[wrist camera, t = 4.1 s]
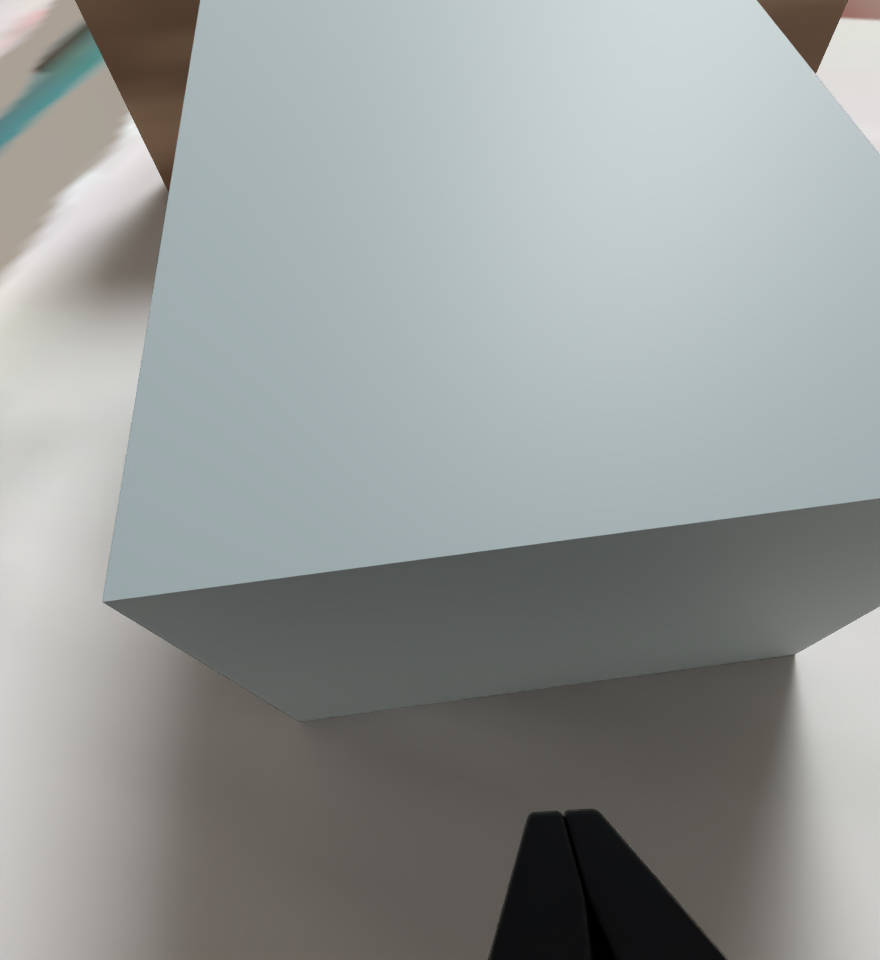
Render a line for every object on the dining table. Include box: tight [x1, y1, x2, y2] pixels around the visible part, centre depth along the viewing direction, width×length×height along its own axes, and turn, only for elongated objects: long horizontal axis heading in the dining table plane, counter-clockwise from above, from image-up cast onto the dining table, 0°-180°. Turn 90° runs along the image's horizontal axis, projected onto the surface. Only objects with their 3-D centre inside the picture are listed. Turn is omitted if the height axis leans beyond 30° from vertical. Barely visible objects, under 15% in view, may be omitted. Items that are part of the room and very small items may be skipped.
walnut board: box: [75, 0, 848, 192], centre depth 22 cm, size 2×24×7 cm, turn 92°
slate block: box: [102, 0, 880, 722], centre depth 15 cm, size 16×12×9 cm
